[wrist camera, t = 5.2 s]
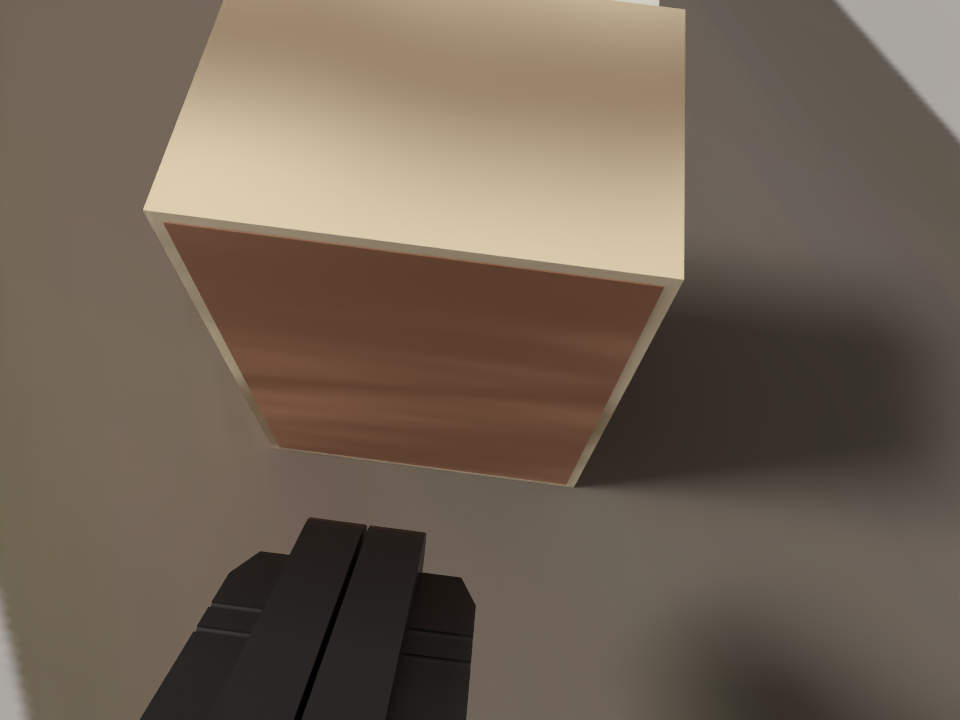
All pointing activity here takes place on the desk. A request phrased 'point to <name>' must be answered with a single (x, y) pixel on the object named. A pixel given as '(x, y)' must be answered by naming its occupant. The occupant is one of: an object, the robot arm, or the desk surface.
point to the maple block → (432, 221)
